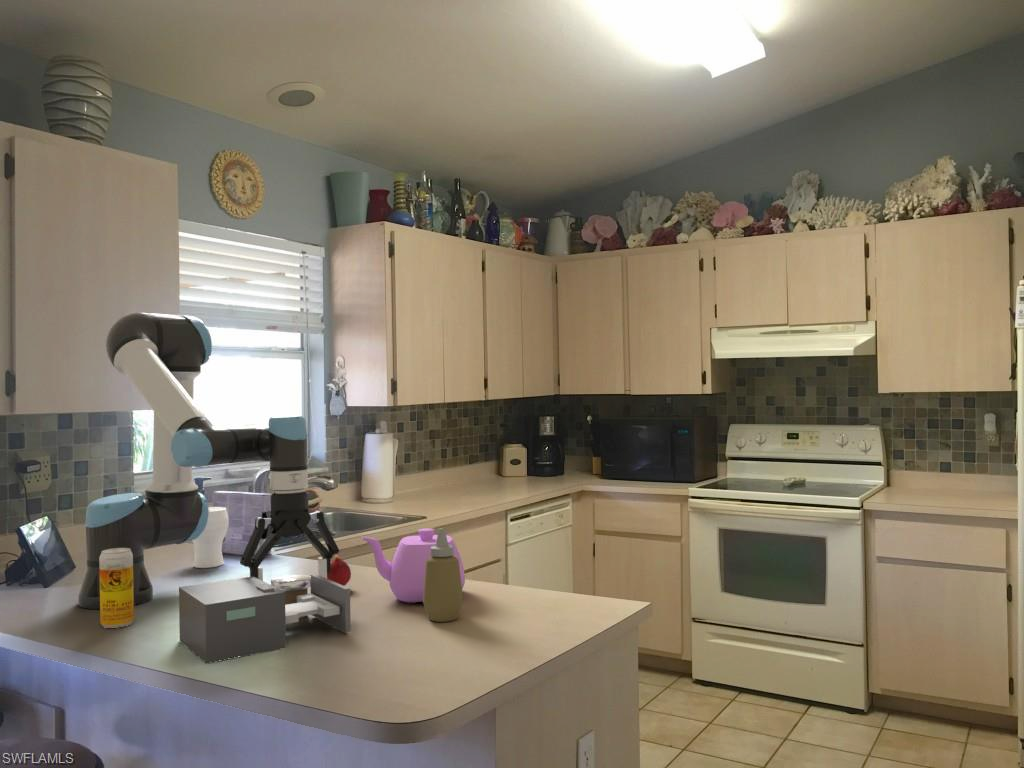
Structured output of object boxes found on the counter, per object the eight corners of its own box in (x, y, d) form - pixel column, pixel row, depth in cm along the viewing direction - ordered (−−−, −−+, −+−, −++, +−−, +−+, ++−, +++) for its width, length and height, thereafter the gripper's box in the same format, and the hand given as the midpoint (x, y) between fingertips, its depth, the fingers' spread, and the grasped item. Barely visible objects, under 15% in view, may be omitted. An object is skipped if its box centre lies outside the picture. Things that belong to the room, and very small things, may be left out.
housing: (179, 640, 159) (178, 585, 159) (254, 627, 167) (253, 574, 167) (206, 663, 145) (205, 602, 145) (286, 648, 153) (285, 590, 153)
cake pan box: (275, 553, 244) (274, 491, 244) (264, 557, 239) (263, 494, 239) (222, 550, 251) (221, 490, 251) (210, 553, 246) (209, 492, 247)
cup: (178, 568, 225) (177, 511, 226) (204, 560, 236) (203, 506, 236) (213, 570, 222) (211, 512, 222) (237, 562, 233) (236, 506, 233)
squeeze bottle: (469, 614, 173) (468, 526, 173) (454, 625, 165) (452, 532, 166) (433, 612, 176) (431, 524, 176) (416, 622, 168) (414, 531, 168)
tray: (248, 626, 166) (247, 584, 166) (315, 614, 174) (315, 573, 174) (279, 646, 153) (278, 600, 153) (350, 631, 161) (349, 588, 161)
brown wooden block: (275, 615, 176) (274, 586, 176) (298, 611, 179) (298, 582, 179) (284, 620, 172) (283, 590, 172) (308, 616, 174) (307, 586, 174)
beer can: (101, 631, 166) (99, 554, 167) (100, 623, 172) (98, 549, 172) (135, 626, 169) (133, 551, 169) (132, 619, 175) (131, 546, 175)
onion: (354, 587, 200) (353, 553, 200) (346, 593, 194) (346, 557, 194) (329, 587, 200) (329, 553, 200) (322, 593, 195) (321, 558, 195)
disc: (265, 586, 176) (265, 578, 176) (302, 580, 181) (302, 572, 181) (279, 593, 169) (279, 585, 169) (317, 587, 174) (317, 579, 174)
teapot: (462, 583, 202) (461, 519, 202) (467, 605, 181) (465, 534, 181) (365, 587, 200) (364, 522, 200) (358, 610, 179) (357, 538, 179)
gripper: (234, 498, 165) (236, 608, 165) (353, 487, 179) (355, 588, 179) (222, 495, 171) (224, 601, 171) (338, 484, 186) (340, 582, 185)
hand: (291, 594), depth 175 cm, fingers open, 13 cm apart
